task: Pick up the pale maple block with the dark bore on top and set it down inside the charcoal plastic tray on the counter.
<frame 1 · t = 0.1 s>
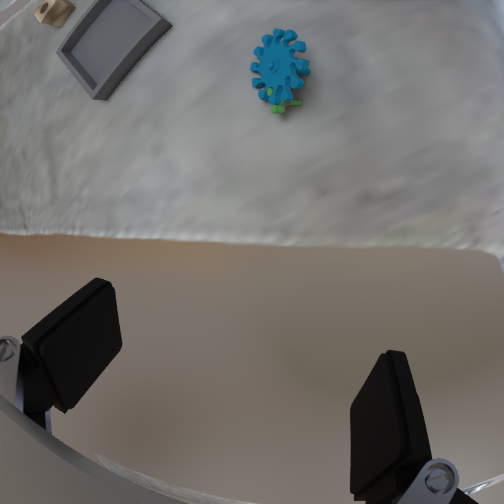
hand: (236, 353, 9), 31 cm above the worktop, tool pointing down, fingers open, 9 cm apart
gear: (280, 76, 32), on the worktop
maple block: (64, 13, 31), on the worktop
tray: (113, 39, 33), on the worktop
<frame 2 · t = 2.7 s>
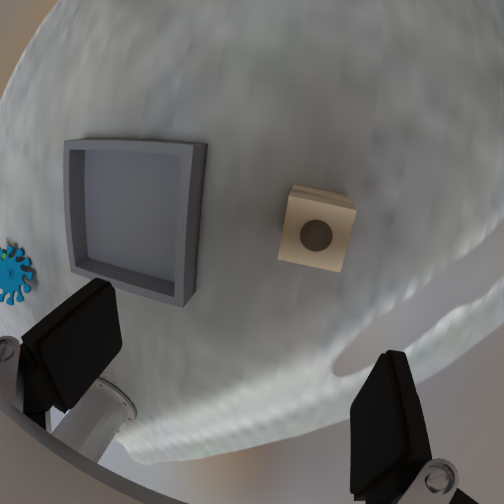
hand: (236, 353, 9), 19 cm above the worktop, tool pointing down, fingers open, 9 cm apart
gear: (23, 263, 39), on the worktop
maple block: (315, 215, 26), on the worktop
tray: (133, 211, 30), on the worktop
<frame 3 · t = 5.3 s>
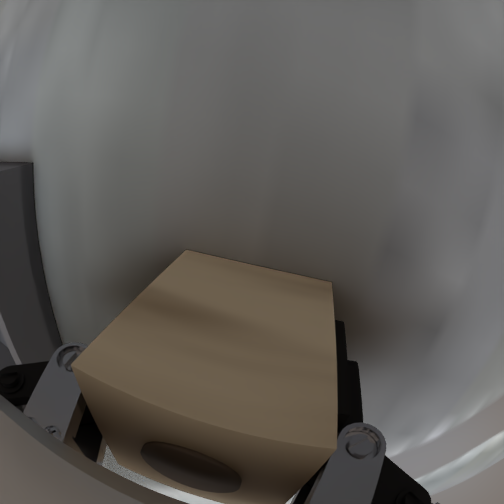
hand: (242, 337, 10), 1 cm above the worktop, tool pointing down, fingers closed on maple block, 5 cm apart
maple block: (246, 325, 10), on the worktop, touching gripper
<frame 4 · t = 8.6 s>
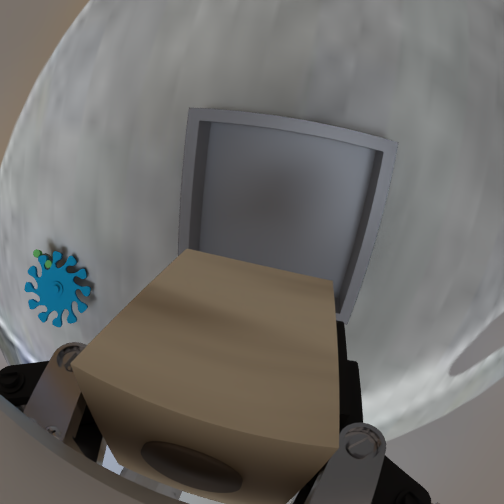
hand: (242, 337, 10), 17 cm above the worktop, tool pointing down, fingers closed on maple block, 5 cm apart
gear: (72, 273, 35), on the worktop
maple block: (247, 324, 10), point 16 cm above the worktop, touching gripper
tray: (280, 210, 25), on the worktop
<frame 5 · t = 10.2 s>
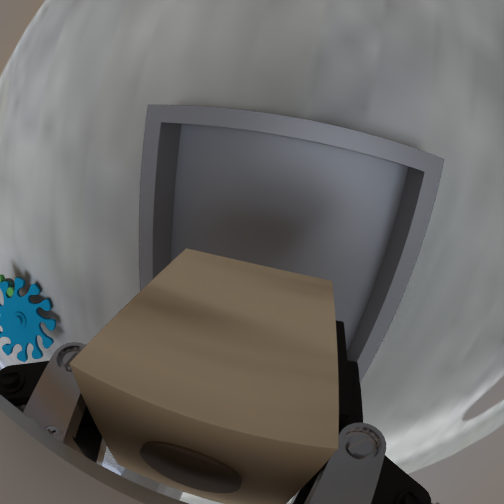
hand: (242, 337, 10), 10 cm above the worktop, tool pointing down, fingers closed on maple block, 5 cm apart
gear: (38, 300, 28), on the worktop
maple block: (246, 324, 10), point 9 cm above the worktop, touching gripper
tray: (275, 245, 19), on the worktop
when the fingers open (3 cm above the worktop, at t = 11.8 s): maple block drops 2 cm, resting on tray.
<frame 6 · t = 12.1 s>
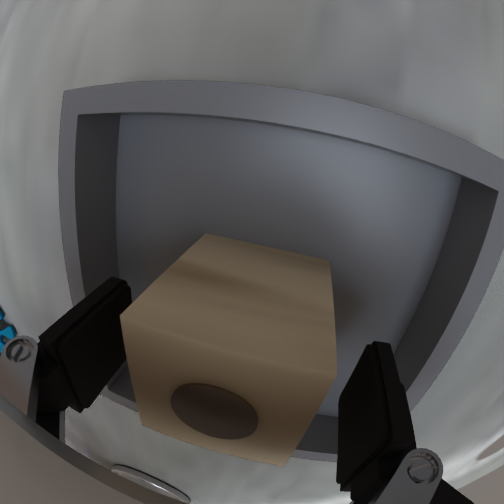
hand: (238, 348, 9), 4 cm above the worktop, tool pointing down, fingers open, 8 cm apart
gear: (4, 324, 22), on the worktop
maple block: (256, 300, 12), point 1 cm above the worktop, touching tray
tray: (259, 290, 13), on the worktop
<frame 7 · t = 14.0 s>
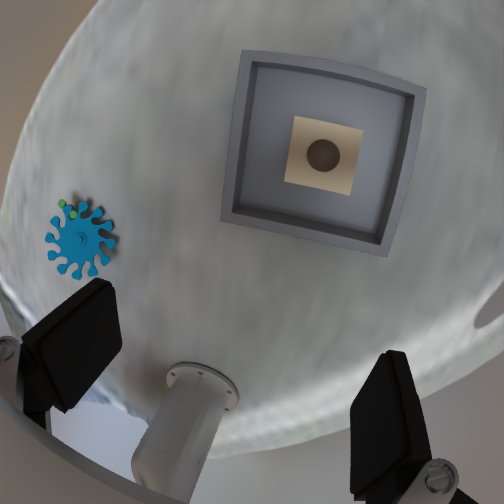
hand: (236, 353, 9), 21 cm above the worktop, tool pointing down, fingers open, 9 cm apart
gear: (96, 226, 36), on the worktop
maple block: (322, 149, 25), point 1 cm above the worktop, touching tray
tray: (322, 148, 25), on the worktop
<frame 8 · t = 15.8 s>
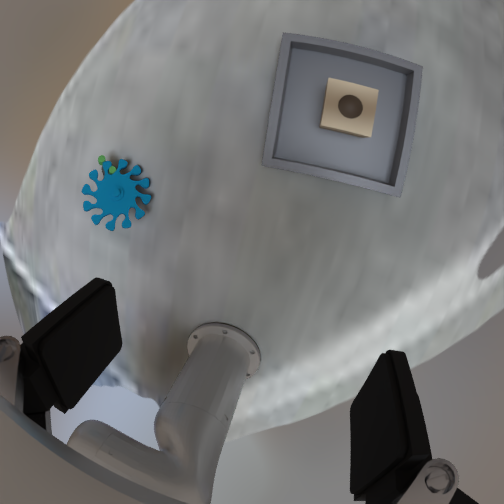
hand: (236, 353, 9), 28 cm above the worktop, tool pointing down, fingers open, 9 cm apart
gear: (130, 185, 39), on the worktop
maple block: (343, 112, 29), point 1 cm above the worktop, touching tray
tray: (343, 112, 30), on the worktop
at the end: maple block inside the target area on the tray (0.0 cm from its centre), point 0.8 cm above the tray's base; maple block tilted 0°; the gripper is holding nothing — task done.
